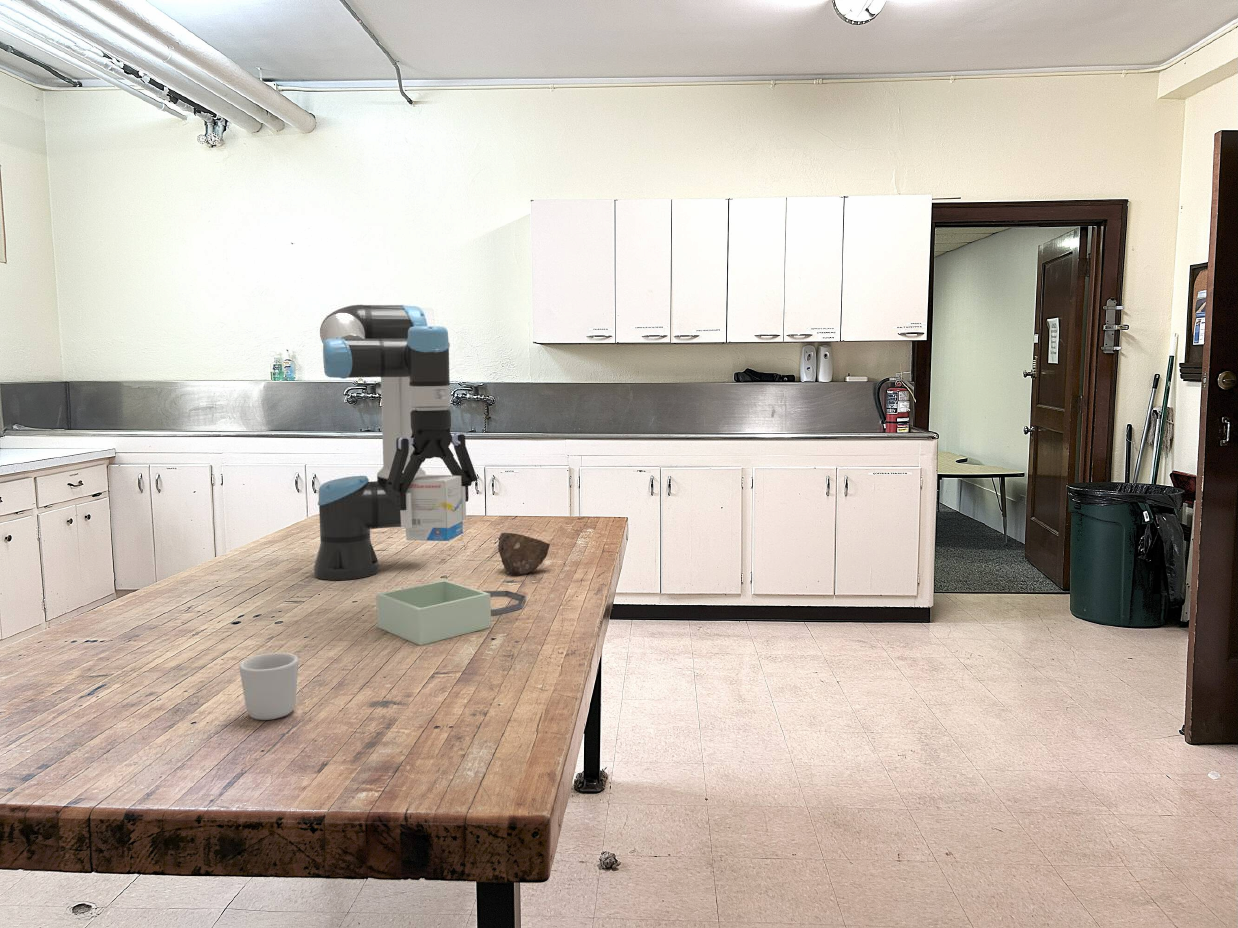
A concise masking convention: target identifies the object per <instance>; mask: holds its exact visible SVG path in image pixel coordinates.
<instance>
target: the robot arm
mask: <svg viewBox="0 0 1238 928" xmlns="http://www.w3.org/2000/svg"><path fill="white" fill-rule="evenodd" d="M319 337H320V340H321V341H320V342H322V356H323V357H322V359H323V360H322V361H323V370H324V375H325V376H326V377H327V378H334V379H335V378H337V379H339V378H340V379H342V380H343V379H351V378H353V379H354V378H380V391H381V392H380V395H381V397H380V399H381V429H382V431H381V432H382V463H383V464H382V465H383V466H382V467H381V469H380V470H379V471H378V472H377V473H376V479H377V480H376V481H370V480H369V478H368V476H367V475H357V476H356V475H353V476H347V477H346V476H345V477H341V478H336V479H331V480H329V481H326V482H324V483H322V484H321V485H320V487H319V488H318V502H317V506H318V507H319V508H318V509H319V513H318V514H319V536H320V539H319V540H320V542H319V543H320V545H319V548H318V552H317V556H316V558H315V562H314V566H313V572H314V573H313V575H314V577H315V578H318V579H320V580H329V581H340V580H341V581H342V580H343V581H345V580H356V579H362V578H363V579H364V578H365V577H370V576H373V575H375V574H377V573H379V572H380V566H379V565H380V563H379V559H378V557H377V554H376V551H375V549H374V547H373V544H372V541H371V530H374V529H377V530H378V529H388V528H389V529H391V528H402V527H403V528H405V529H406V528H412V509H411V493H408V492H407V490H408V488H409V486H410V484H411V483H412V481H413V479H414V477H415V476H419V475H427V474H426V471H425V470H424V469H423V468H422V467H421V465H422V464H423V463H424V462H425V461H426V460H427V459H433V458H438V459H441V460H442V461H443V463H444V464H445V466H446V467H447V469H448V471H449V472H450V475H456V476H461V488H462V521H465V520H467V506H466V505H467V502H469V498H470V497H469V487H470V486H471V485H472V483H473V482H476V481H477V480H478V476H477V474H476V470H475V468H474V465H473V461H472V460H471V456H470V454H469V452H468V449H467V446H466V445H467V444H466V435H465V434H463V433H454V434H452V433H451V428H452V411H451V410H450V409H448V408H449V407H451V387H450V385H451V383H450V347H451V346H450V345H451V344H450V342H449V331H448V329H447V328H446V327H445V326H440V325H437V326H436V325H428V322H427V318H426V316H425V313H424V311H423V309H422V308H420V307H418V306H415V305H405V304H383V305H382V304H354V305H352V304H351V305H348V306H345V307H341V308H338V309H336V310H335V311H332V312H331V313H329V314H328V315H327V316H326V317H325V318H324V319H323V320H322V322H321V325H320V327H319ZM451 444H452V445H453V449H454V452H455V454H456V457H457V460H458V462H457V460H456V459H455V457H454V456H455V455H454V453H453V452H452V450H451V449H450V445H451Z"/></svg>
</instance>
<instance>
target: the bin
mask: <svg viewBox="0 0 1238 928" xmlns="http://www.w3.org/2000/svg"><path fill="white" fill-rule="evenodd" d="M483 591H484V590H480V589H475V588H473V587H471V586H466V585H464V584H460V583H457V582H454V581H450V580H447V579H444V580H439V581H434V582H433V581H432V582H430V583H423V584H420V585H419V584H418V585H414V586H409V587H405V588H400V589H395V590H390V591H384V592H380V593H376V594H375V596H376V614H377V615H376V616H377V617H376V618H377V619H376V620H377V628H379V629H380V630H384V631H385V632H388V633H390V634H393V635H395V636H397V637H399V638H401V639H404V640H407V641H408V642H409V641H410V642H411V643H413V644H416V645H419V646H422V645H427V644H432V643H435V642H439V641H443V640H446V639H451V638H453V637H454V638H455V637H458V636H462V635H465V634H466V635H467V634H470V633H474V632H478V631H481V630H482V631H483V630H486V629H489V628H492V615H491V609H492V608H491V607H492V606H491V603H492V601H491V596H490V594H489V593H486V592H483Z"/></svg>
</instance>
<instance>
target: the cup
mask: <svg viewBox="0 0 1238 928" xmlns="http://www.w3.org/2000/svg"><path fill="white" fill-rule="evenodd" d="M238 667H239V673H240V680H241V684H242V685H241V687H242V692H243V697H244V704H245V708H246V712H247V713H248V715H249V716H250V717H251V718H253V719H255V720H258V721H268V720H275V719H280V718H283V717H285V716H287V715H289V714H291V713H292V712H293V710H294V709H295V706H296V703H297V692H298V690H297V689H298V672H299V657H298V656H297V655H295V654H293V653H289V652H268V653H263V654H262V653H261V654H257V655H253V656H250V657H248V658H246V659H244V660H242V662H241V663H239V666H238Z"/></svg>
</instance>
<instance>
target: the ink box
mask: <svg viewBox="0 0 1238 928" xmlns="http://www.w3.org/2000/svg"><path fill="white" fill-rule="evenodd" d="M407 492H408V493H411V509H412V528H406V527H405V539H406V541H417V542H418V541H421V542H422V541H425V542H426V541H429V542H430V541H431V542H432V541H433V542H449V541H451V540H454V539H455V538H456V537H458V536H461V535H463V534H464V527H463V524H464V523H463V521H464V520H462V488H461V476H456V475H452V474H450V475H449V474H448V475H447V474H426V475H419V476H415V477H414V479H413V481H412V483H411V484H410V486H409V488H408V490H407Z"/></svg>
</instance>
